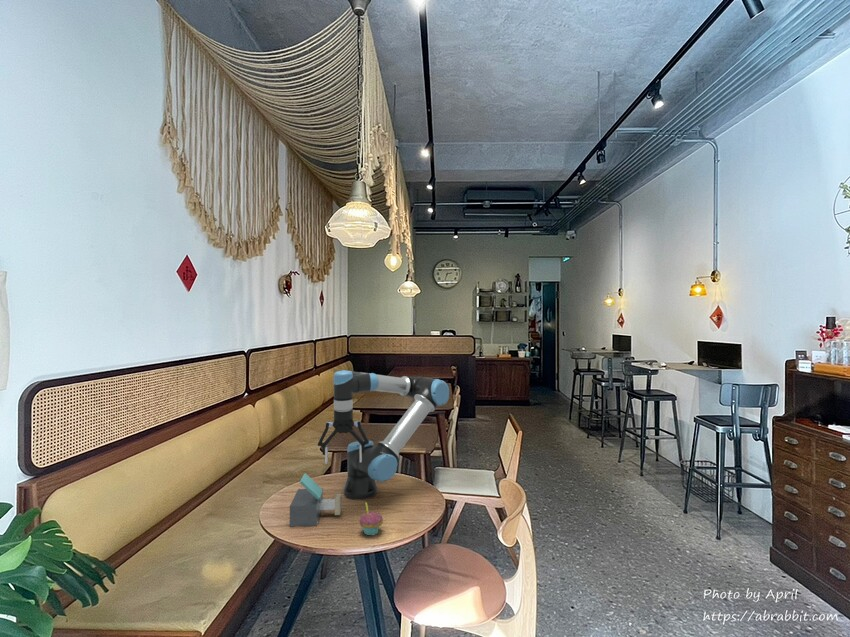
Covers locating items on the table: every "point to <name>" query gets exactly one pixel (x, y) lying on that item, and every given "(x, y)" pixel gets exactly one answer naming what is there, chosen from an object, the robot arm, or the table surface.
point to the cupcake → (370, 522)
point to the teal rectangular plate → (311, 486)
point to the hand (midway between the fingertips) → (343, 462)
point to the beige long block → (331, 504)
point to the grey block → (304, 509)
